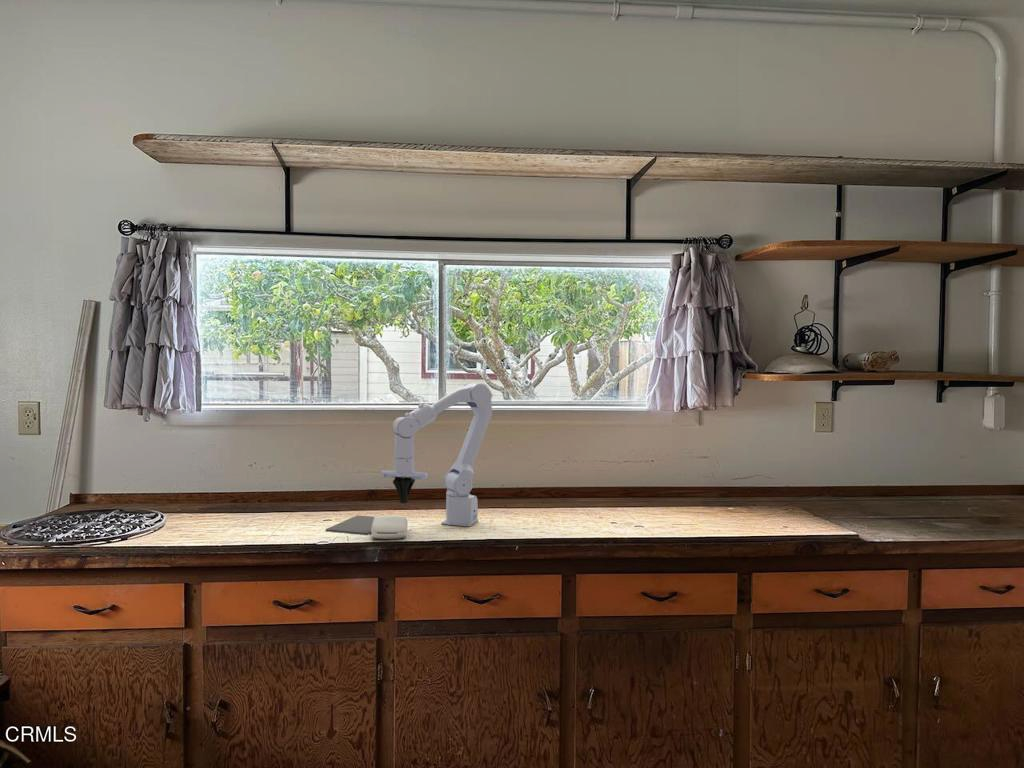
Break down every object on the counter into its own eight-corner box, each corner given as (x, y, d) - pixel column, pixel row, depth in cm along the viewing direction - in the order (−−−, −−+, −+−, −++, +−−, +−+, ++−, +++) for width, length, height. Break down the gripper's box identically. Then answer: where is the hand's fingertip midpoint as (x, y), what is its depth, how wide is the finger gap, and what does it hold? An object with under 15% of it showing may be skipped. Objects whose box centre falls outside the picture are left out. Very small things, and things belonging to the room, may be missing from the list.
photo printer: (408, 515, 188) (407, 525, 176) (407, 529, 189) (407, 541, 176) (373, 514, 187) (370, 525, 175) (372, 529, 187) (369, 541, 175)
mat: (396, 520, 199) (396, 518, 199) (367, 534, 182) (367, 533, 182) (357, 516, 203) (357, 515, 203) (325, 530, 186) (325, 529, 186)
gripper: (375, 458, 186) (375, 503, 187) (420, 460, 182) (420, 507, 183) (387, 454, 193) (387, 498, 193) (430, 457, 189) (430, 502, 189)
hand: (404, 502), depth 189 cm, fingers closed
